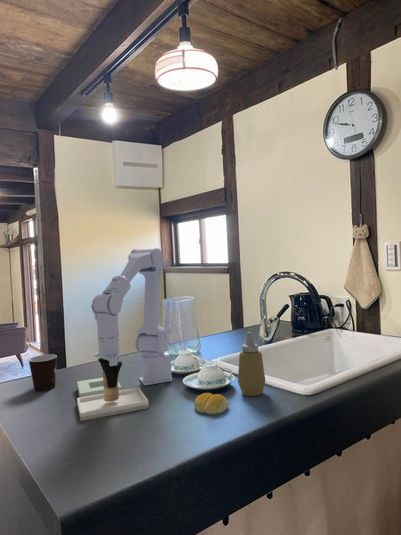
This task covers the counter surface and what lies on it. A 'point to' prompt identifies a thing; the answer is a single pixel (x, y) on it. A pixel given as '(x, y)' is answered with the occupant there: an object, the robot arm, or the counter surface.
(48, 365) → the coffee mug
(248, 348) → the squeeze bottle
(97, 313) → the robot arm
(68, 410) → the counter surface
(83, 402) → the tray
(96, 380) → the pin holder
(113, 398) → the oak pin
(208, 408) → the bread roll
